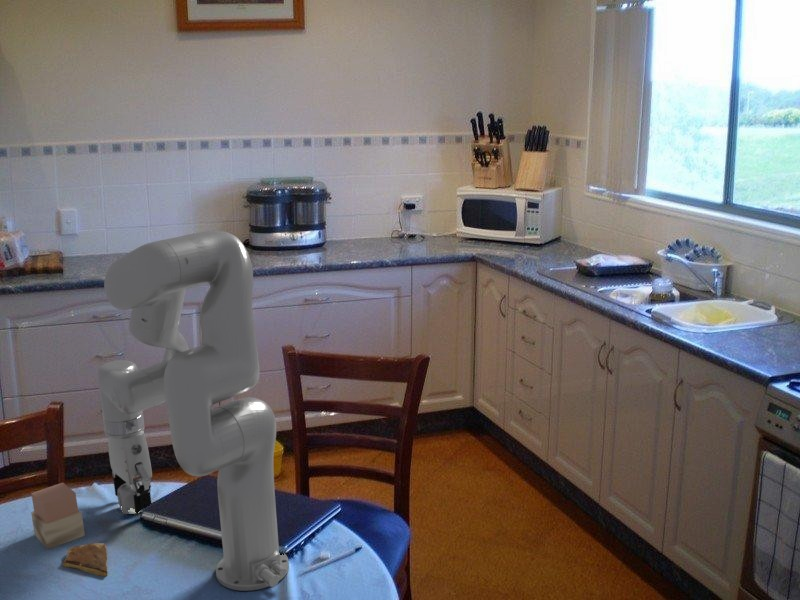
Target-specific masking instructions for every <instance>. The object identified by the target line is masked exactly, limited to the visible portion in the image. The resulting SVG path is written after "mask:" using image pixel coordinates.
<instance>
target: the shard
mask: <svg viewBox="0 0 800 600" xmlns="http://www.w3.org/2000/svg"><path fill="white" fill-rule="evenodd" d="M106 545H107V544H106V543H98V542H94V543H87V544H83V545H82V544H80V545H75V546H72V547H69V548H67V553H66V554H67V555H66V556H65V559H64V560H63V561H62V562H61V563H62V566H63V567H64V568H74V569H77V570H81V571H83V572H86V573H89V574H92V575H96V576H102V577H108V572H109V571H108V566H107V563H108V562H107V561H108V549H107V547H106Z"/></svg>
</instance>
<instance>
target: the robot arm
mask: <svg viewBox="0 0 800 600" xmlns="http://www.w3.org/2000/svg"><path fill="white" fill-rule="evenodd" d="M103 283H104V284H103V287H104V292H105V297H106V299H107V301H108V303H109V304H110V305H111V306H112V307H113V308H115V309H116V310H120V311H128V310H131V312H130V318H129V322H128V329H129V333H130V334H131V335H132V336H133V337H132V338H134V339H136V340H137V341H138V342H140V343H142V344H144V345H148V346H152V347H155V348H161V349H163V348H164V349H165V350H164V355H163V359H162V360H161V362H158V363H154V364H151V365H148V366H144V367H142V368H138V366H137V364H136V363H135V362H133V361H130V360H125V359H123V360H122V359H119V360H113V361H112V360H111V361H108V362H106V363H103V364H102V365H101V366H100V367H99V368H98V370H97V382H98V383H97V384H98V390H99V392H98V393H99V398H100V399H99V400H100V405H101V414H102V421H103V422H102V423H103V431H104V434H105V436H106V437H107V447H108V457H109V463H110V467H111V468H110V469H111V470H112V472H111V475H112V480H113V486H114V487H113V488H114V494H115V496H116V497H117V498H118V495H117V490H118V488H119V487H120V486H121V485H122V484H124V483H129V484H132V487H133V490H134V492H135V495H133V496H134V504H135V512H136V513H137V514H136V515H139V514H138V512H139V511H140V510H141V509H143V508H146V507H147V506H149V505H150V504H152V499H151V498H152V497H151V496H152V495H151V487H152V485H151V479H152V478H153V470H152V465H151V458H150V452H149V447H148V444H147V439H146V436H145V432H144V430H145V419H144V412H143V411H145V410H148V409H151V408H153V407H155V406H158V405H161V404H163V403H165V405H166V411H167V418H168V424H169V425H168V426H169V430H170V431H169V432H170V437H171V443H172V449H173V452H174V455H175V459H176V461H177V463H178V465H179V466H180V468H181V469H182V470H183V471H184V472H185V473H186V474H187V475H189V476H193V477H203V476H208V475H210V474H212V473H215V472H218V474H217V482H216V483H217V486H216V487H217V498H218V499H217V501H218V508H219V509H218V510H219V521H220V529H221V530H220V531H221V544H222V555H223V557H222V558H221V559H220V560H219V562H218V563H217V564H216V567H215V576H216V579H217V581H218V582H219V584H221V585H222V586H223V587H225V588H228V589H229V590H234V591H241V592H245V591H246V592H247V591H257V590H263V589H265V588H268V587H271V588H274V587H276V586H277V585H278V584H279V582H280V581H281V580H283V579H284V578H285V577H286V575H287V573H288V572H289V570H290V561H289V557H288V556H287V554H286V553H284V555H283V554H282V555H280V553H279V550H280V547H279V534H278V522H277V521H278V519H277V508H276V507H277V505H276V495H275V494H276V492H275V490H276V489H275V475H274V474H275V473H274V454H275V453H274V452H275V447H276V446H275V445H276V440H277V439H276V438H277V422H276V421H277V420H276V416H275V414H274V411H273V410H272V408H271V407H270V405H269V404H268V403H267V402H266V401H264V400H262V399H260V398H258V397H252V396H251V397H249V396H247V397H242V398H238V399H234V400H231V401H229V402H225V404H224V403H223V404H221V405H218V406H216V407H213V408H212V406H213V405H216V404H218V403H221V402H224V401H226V400H228V399H229V400H230V399H231V398H234V397H237V396H239V395H241V394H243V393H246V392H248V391H250V390H252V389H253V388H254V387H255V386H256V385H257V384H258V383H259V380H260V361H259V352H258V343H257V336H256V334H257V333H256V328H255V327H256V326H255V320H254V319H255V318H254V311H253V293H254V292H253V289H254V288H253V287H254V270H253V265H252V261H251V257H250V255H249V252H248V250H247V248H246V246H245V245H244V243H243V242H242V241H241V240H240V239H239V238H238V236H235V235H234V234H232V233H231V232H227V231H222V230H207V231H200V232H195V233H190V234H184V235H181V236H175V237H170V238H166V239H160V240H156V241H152V242H148V243H145V244H142V245H140V246H139V247H137V248H135V249H133V250H131V251H129V252H128V253H126V254H125V255H122V256H120V257H119V258H117V259H116V260H114V261H113V262H112V263H111V264H110V265H109V267H108V268H107V270H106V273H105V276H104V281H103ZM206 284H207V285H209V289H208V290H207V292H206V295H205V296H204V299H203V300H202V301H203V302H202V305H201V309H200V313H199V322H200V328H201V344H200V345H199V346H197V347H194V348H190V347H189V345H188V342H187V340H186V339H185V337H184V336H183V335H182V333H181V332H180V331H179V325H180V322H181V315H182V312H183V307H184V303H185V298H186V293H187V289H191V288H196V287H199V286H203V285H206ZM140 482H142V485H140V487H139V489H138V487H137V483H140Z"/></svg>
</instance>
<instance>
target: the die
mask: <svg viewBox="0 0 800 600" xmlns="http://www.w3.org/2000/svg"><path fill="white" fill-rule="evenodd" d="M140 485H142V482H140V483H137V487H138V489H139V487H140ZM117 495H118V497H117V500H118V504H119V505H118V506H119V507H120V506H122V511H123V513H122V514H124V515H127V514H129V512H128V510H130V508H133V509H135V504H134V496H133V495H135V492H134V490H133V487H132V484H129V483H124V484H122V485H121V486H120V487H119V488H118V490H117Z"/></svg>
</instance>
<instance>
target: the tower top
mask: <svg viewBox="0 0 800 600" xmlns="http://www.w3.org/2000/svg"><path fill="white" fill-rule="evenodd" d="M31 500H32V506H33V511H34V512H35V513H36V514H37V515H38V516H39V517H40V518H41V519H42V520H43V521H44V522H46V523H49V522H52V521H55V520H58V519H60V518H63V517H66V516H69V515H71V514H74V513H77V512H78V510H79V507H78V502H77V501H78V499H77V494H76V492H75V490H73V489H72V488H70V487H69V486H68V485H66V483H64V482H61V483H58V484H53V485H52V486H49V487H45V488H42V489H39V490H37V491H33V492H31Z"/></svg>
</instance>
